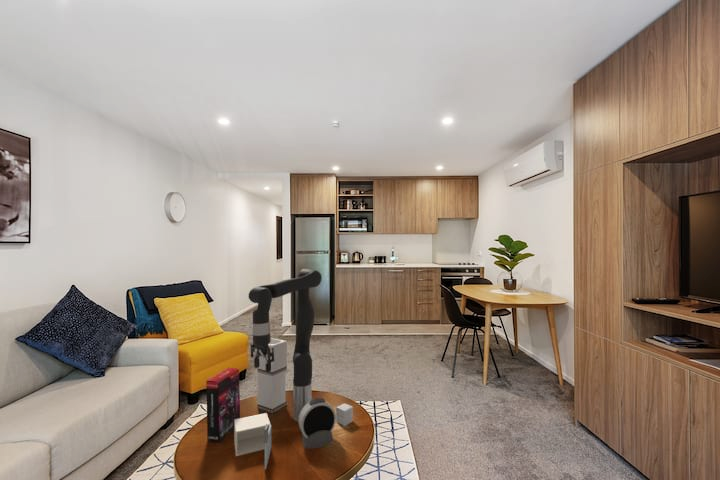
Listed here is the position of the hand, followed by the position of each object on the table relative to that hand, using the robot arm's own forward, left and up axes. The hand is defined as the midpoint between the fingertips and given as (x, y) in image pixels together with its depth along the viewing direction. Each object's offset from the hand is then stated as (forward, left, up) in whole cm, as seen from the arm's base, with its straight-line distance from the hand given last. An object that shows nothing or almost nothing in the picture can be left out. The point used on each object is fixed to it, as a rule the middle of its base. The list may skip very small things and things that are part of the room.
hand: (262, 369), depth 145 cm
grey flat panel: (-1, +11, -32) cm, 34 cm away
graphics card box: (+15, -18, -33) cm, 40 cm away
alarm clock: (-23, +7, -33) cm, 41 cm away
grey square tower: (-10, -35, -33) cm, 49 cm away
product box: (-40, -3, -33) cm, 52 cm away
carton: (+4, -2, -33) cm, 33 cm away
